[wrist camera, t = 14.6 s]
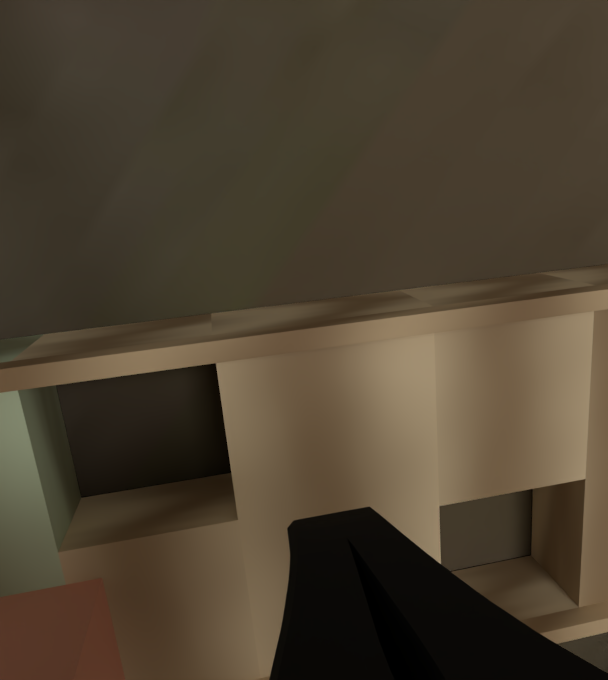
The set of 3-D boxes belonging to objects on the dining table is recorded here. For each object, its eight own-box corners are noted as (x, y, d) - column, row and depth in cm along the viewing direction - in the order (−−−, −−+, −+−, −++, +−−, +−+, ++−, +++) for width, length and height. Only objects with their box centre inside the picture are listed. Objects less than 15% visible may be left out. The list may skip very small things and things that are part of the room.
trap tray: (613, 263, 20) (743, 283, 15) (595, 554, 23) (698, 646, 18) (-120, 354, 16) (-258, 418, 11) (-18, 681, 19) (-91, 837, 15)
